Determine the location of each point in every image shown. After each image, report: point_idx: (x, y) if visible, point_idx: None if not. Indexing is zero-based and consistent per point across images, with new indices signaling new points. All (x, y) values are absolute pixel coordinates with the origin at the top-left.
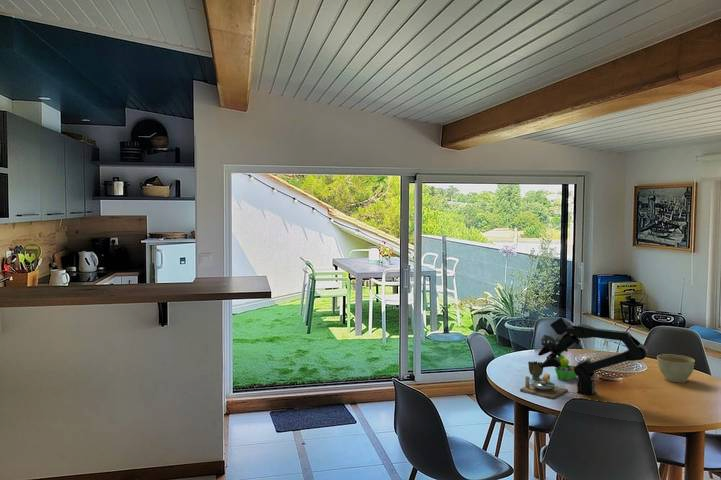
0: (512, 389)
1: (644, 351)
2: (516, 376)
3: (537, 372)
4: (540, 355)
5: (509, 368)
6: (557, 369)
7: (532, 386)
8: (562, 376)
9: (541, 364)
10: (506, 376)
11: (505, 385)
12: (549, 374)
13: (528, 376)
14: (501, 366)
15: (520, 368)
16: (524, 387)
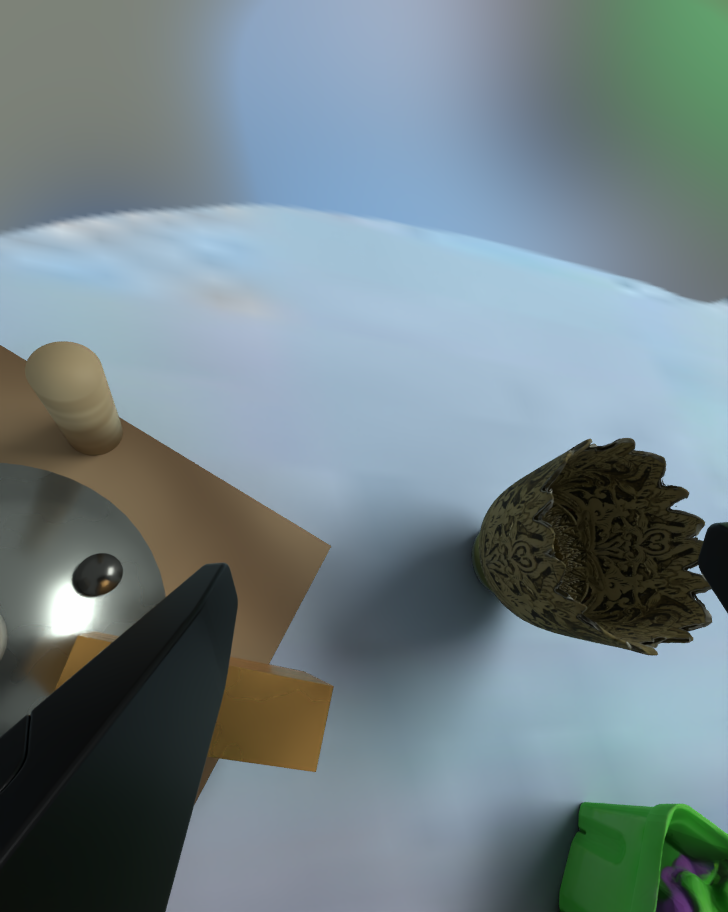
0: (56, 285)
1: None
2: (492, 395)
3: (493, 565)
4: (713, 589)
5: (648, 376)
6: (685, 840)
7: (119, 495)
8: (589, 891)
9: (173, 611)
10: (464, 318)
11: (197, 254)
12: (292, 766)
13: (85, 388)
14: (661, 332)
15: (683, 452)
16: None
